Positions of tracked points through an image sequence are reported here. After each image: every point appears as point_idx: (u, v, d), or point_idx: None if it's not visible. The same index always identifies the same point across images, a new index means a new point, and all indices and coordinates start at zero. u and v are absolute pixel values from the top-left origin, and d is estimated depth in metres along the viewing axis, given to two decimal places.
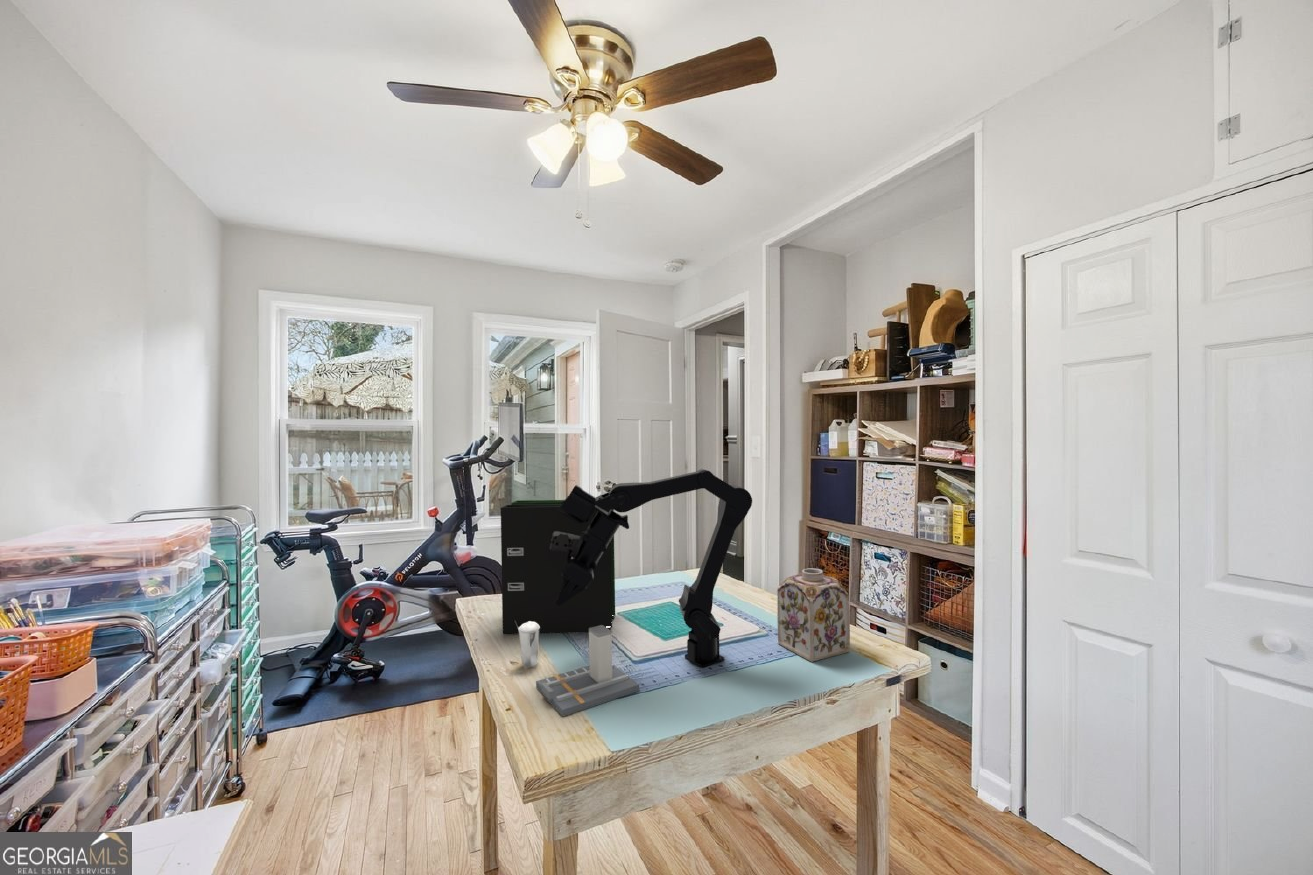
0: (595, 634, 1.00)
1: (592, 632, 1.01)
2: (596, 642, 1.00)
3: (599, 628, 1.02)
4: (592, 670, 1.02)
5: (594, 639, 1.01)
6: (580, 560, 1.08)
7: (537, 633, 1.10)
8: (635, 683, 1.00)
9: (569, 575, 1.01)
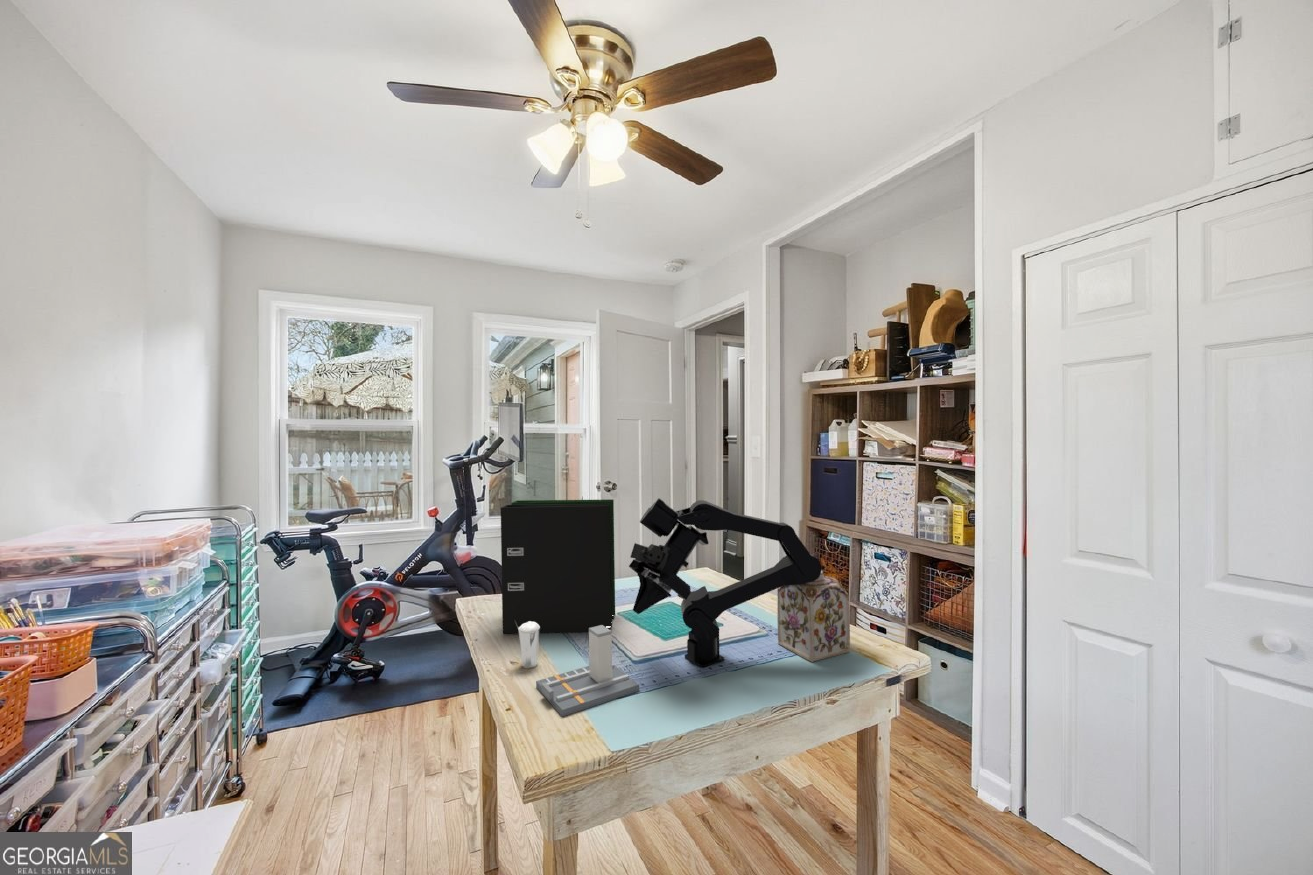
0: (595, 634, 1.00)
1: (592, 632, 1.01)
2: (596, 642, 1.00)
3: (599, 628, 1.02)
4: (592, 670, 1.02)
5: (594, 639, 1.01)
6: None
7: (537, 633, 1.10)
8: (635, 683, 1.00)
9: (672, 587, 1.00)
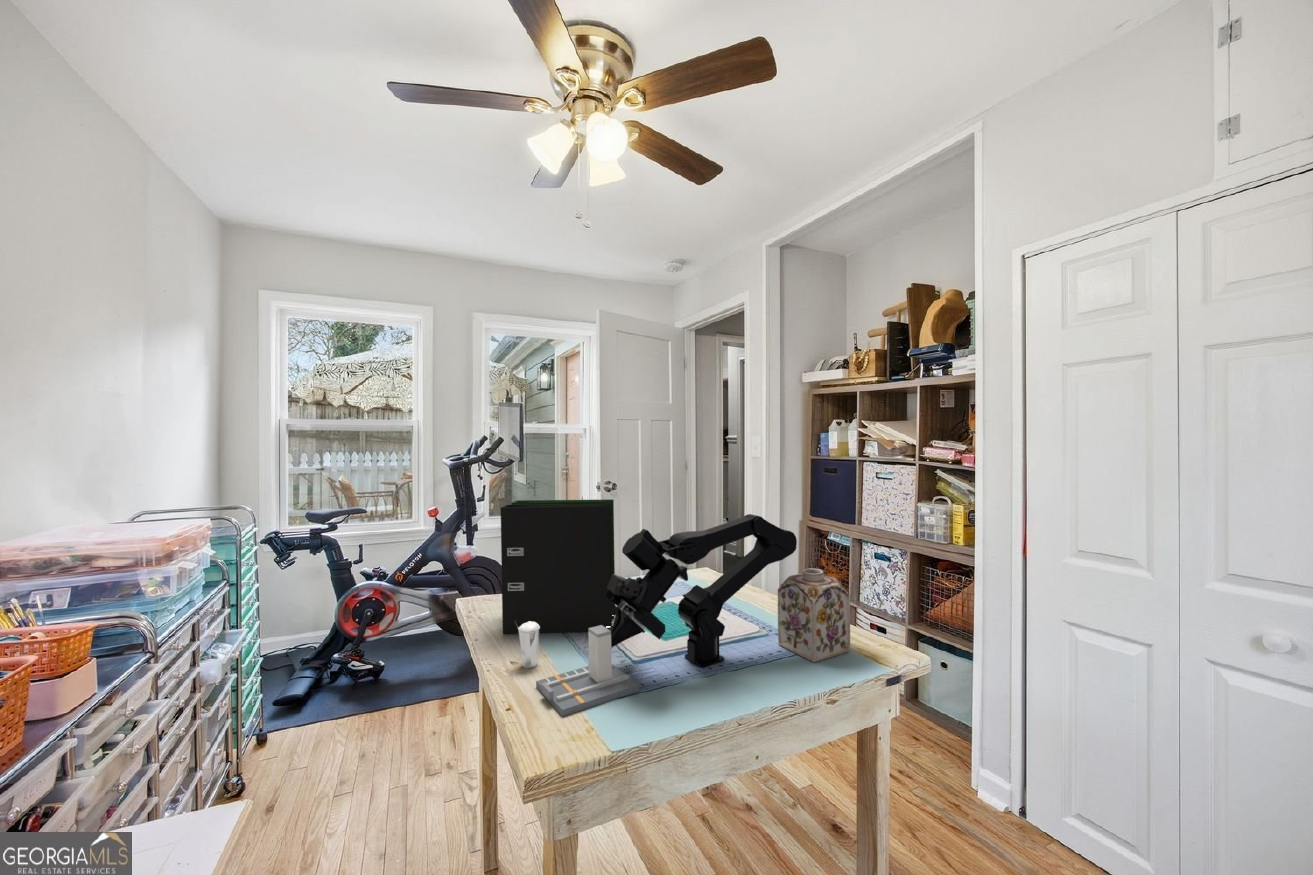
0: (595, 634, 1.00)
1: (592, 632, 1.01)
2: (596, 642, 1.00)
3: (599, 628, 1.02)
4: (591, 670, 1.02)
5: (594, 639, 1.00)
6: None
7: (537, 633, 1.10)
8: (635, 683, 1.00)
9: (646, 625, 0.97)
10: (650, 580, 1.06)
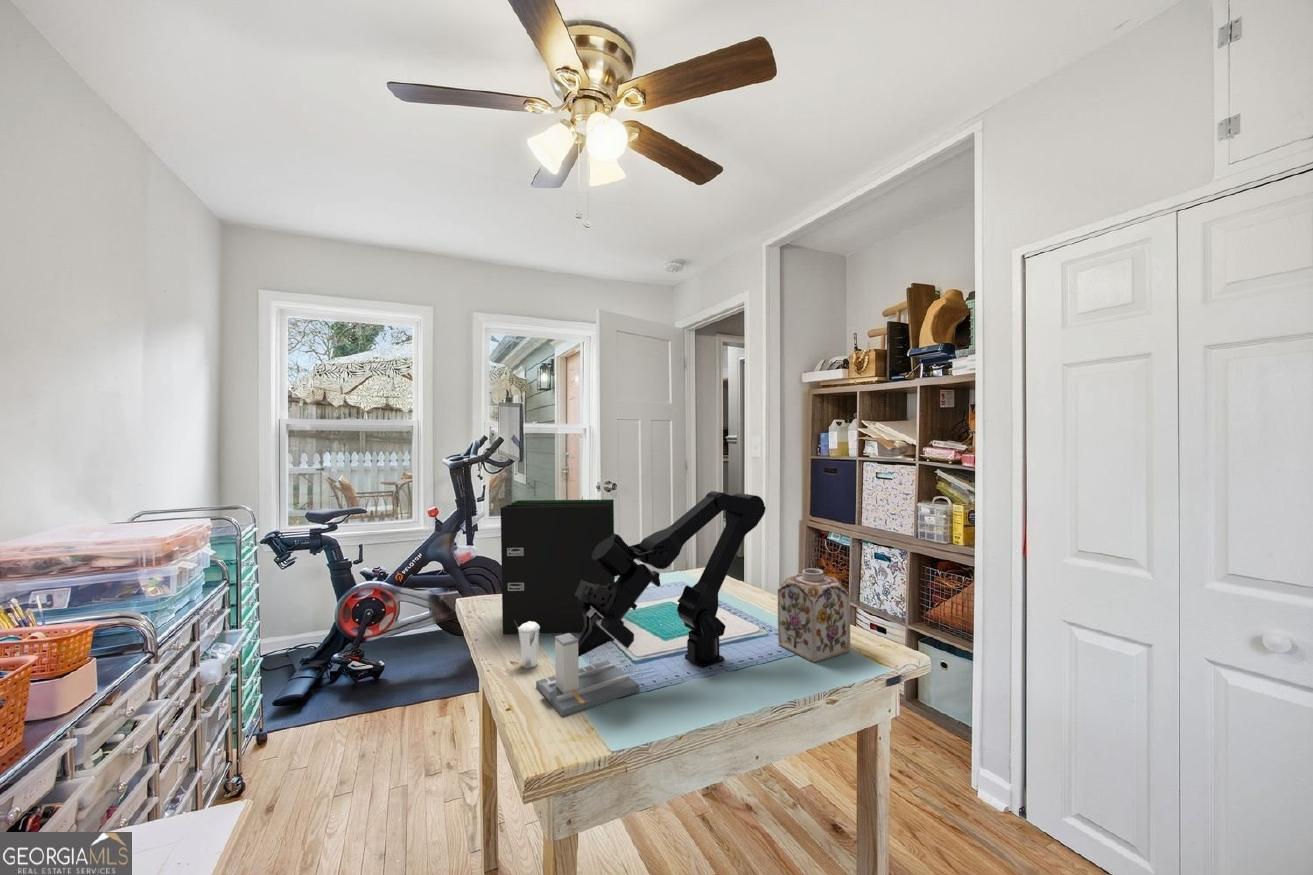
0: (561, 643, 0.96)
1: (558, 641, 0.97)
2: (562, 651, 0.96)
3: (566, 636, 0.98)
4: (558, 680, 0.98)
5: (560, 648, 0.97)
6: None
7: (537, 633, 1.10)
8: (635, 683, 1.00)
9: (613, 634, 0.93)
10: (620, 586, 1.02)
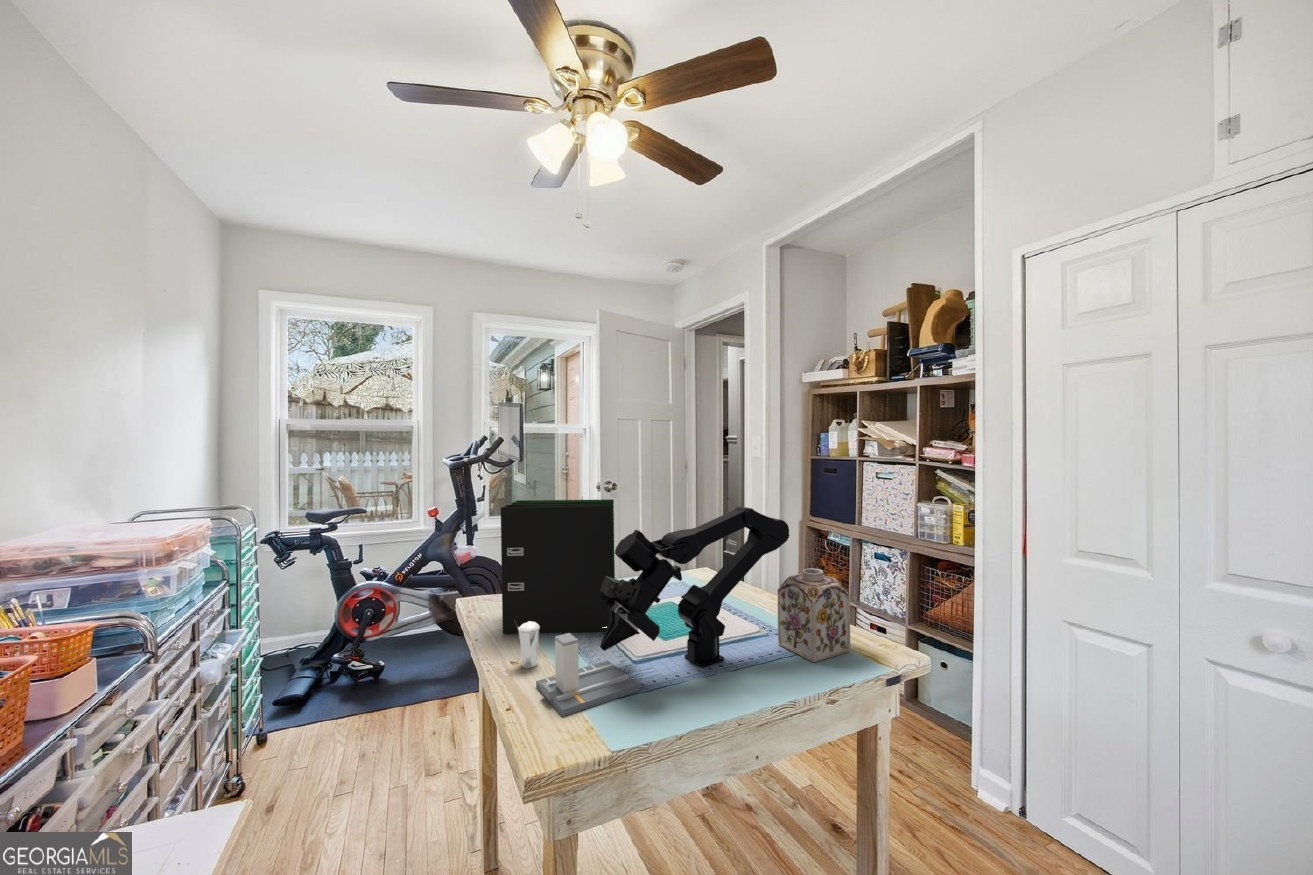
0: (561, 643, 0.96)
1: (558, 641, 0.97)
2: (562, 651, 0.96)
3: (566, 636, 0.98)
4: (558, 680, 0.98)
5: (560, 648, 0.97)
6: None
7: (537, 633, 1.10)
8: (635, 683, 1.00)
9: (640, 627, 0.96)
10: (643, 581, 1.05)
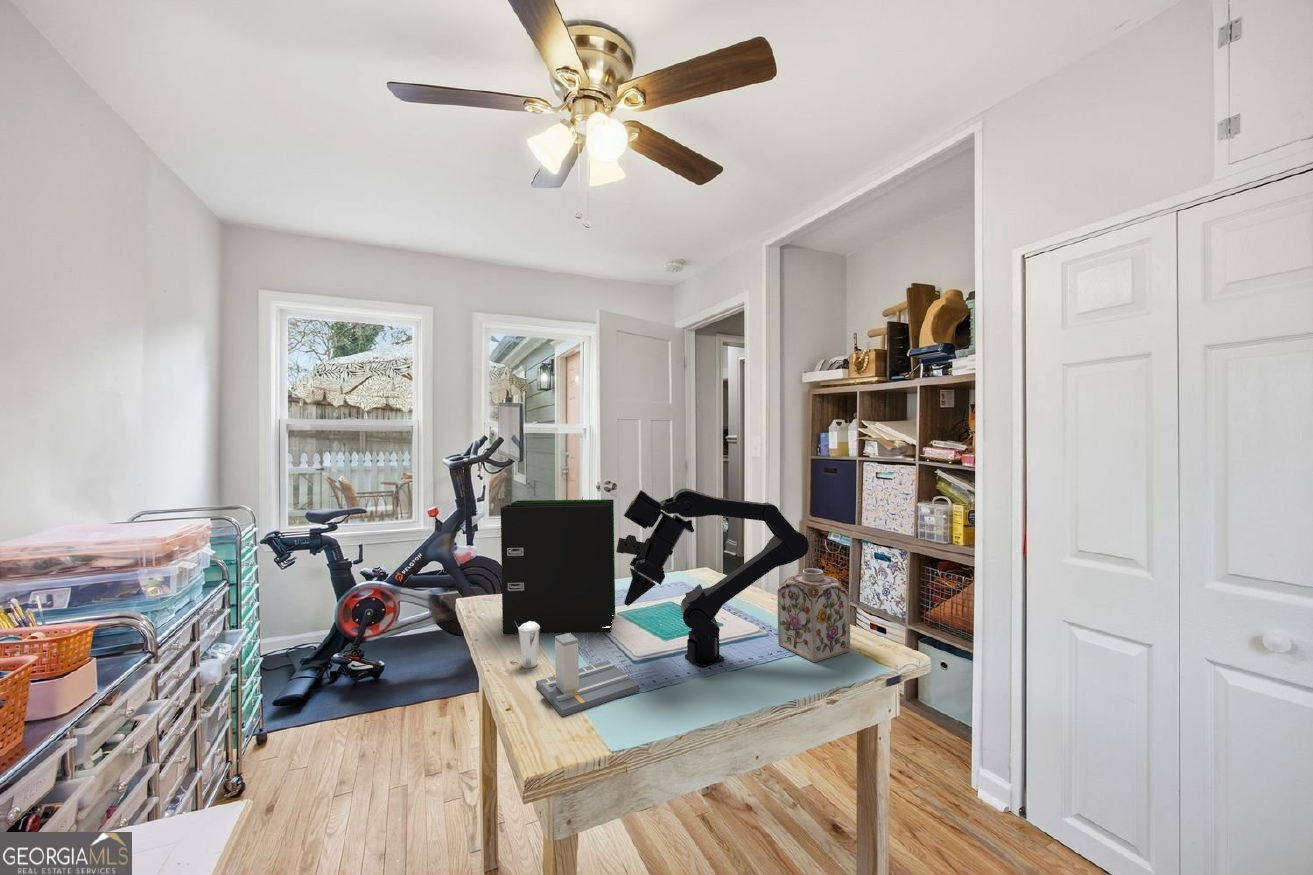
0: (561, 643, 0.96)
1: (558, 641, 0.97)
2: (562, 651, 0.96)
3: (566, 636, 0.98)
4: (558, 680, 0.98)
5: (560, 648, 0.97)
6: None
7: (537, 633, 1.10)
8: (635, 683, 1.00)
9: (642, 571, 1.01)
10: (653, 536, 1.10)
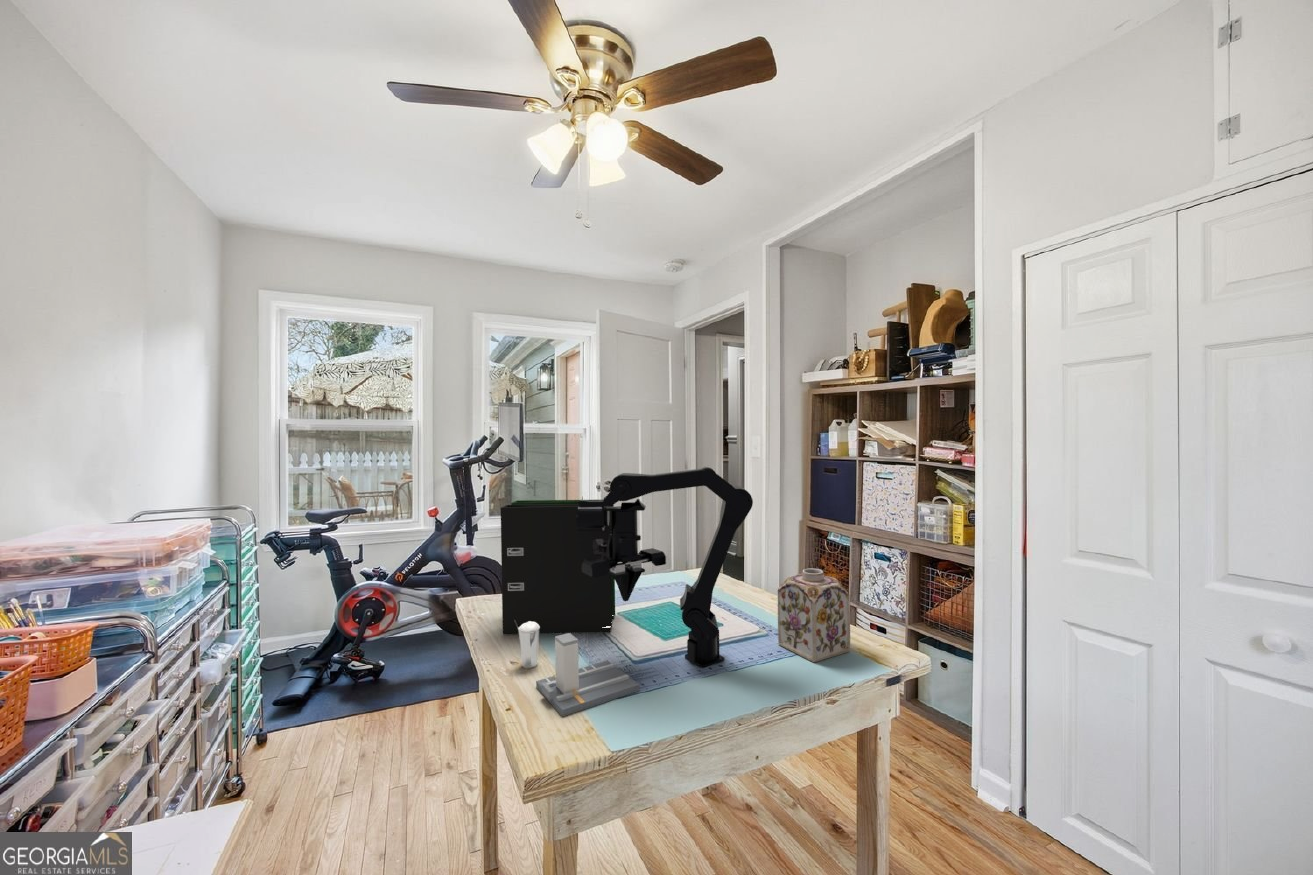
0: (561, 643, 0.96)
1: (558, 641, 0.97)
2: (562, 651, 0.96)
3: (566, 636, 0.98)
4: (558, 680, 0.98)
5: (560, 648, 0.97)
6: (612, 558, 1.12)
7: (537, 633, 1.10)
8: (635, 683, 1.00)
9: (583, 571, 1.09)
10: None
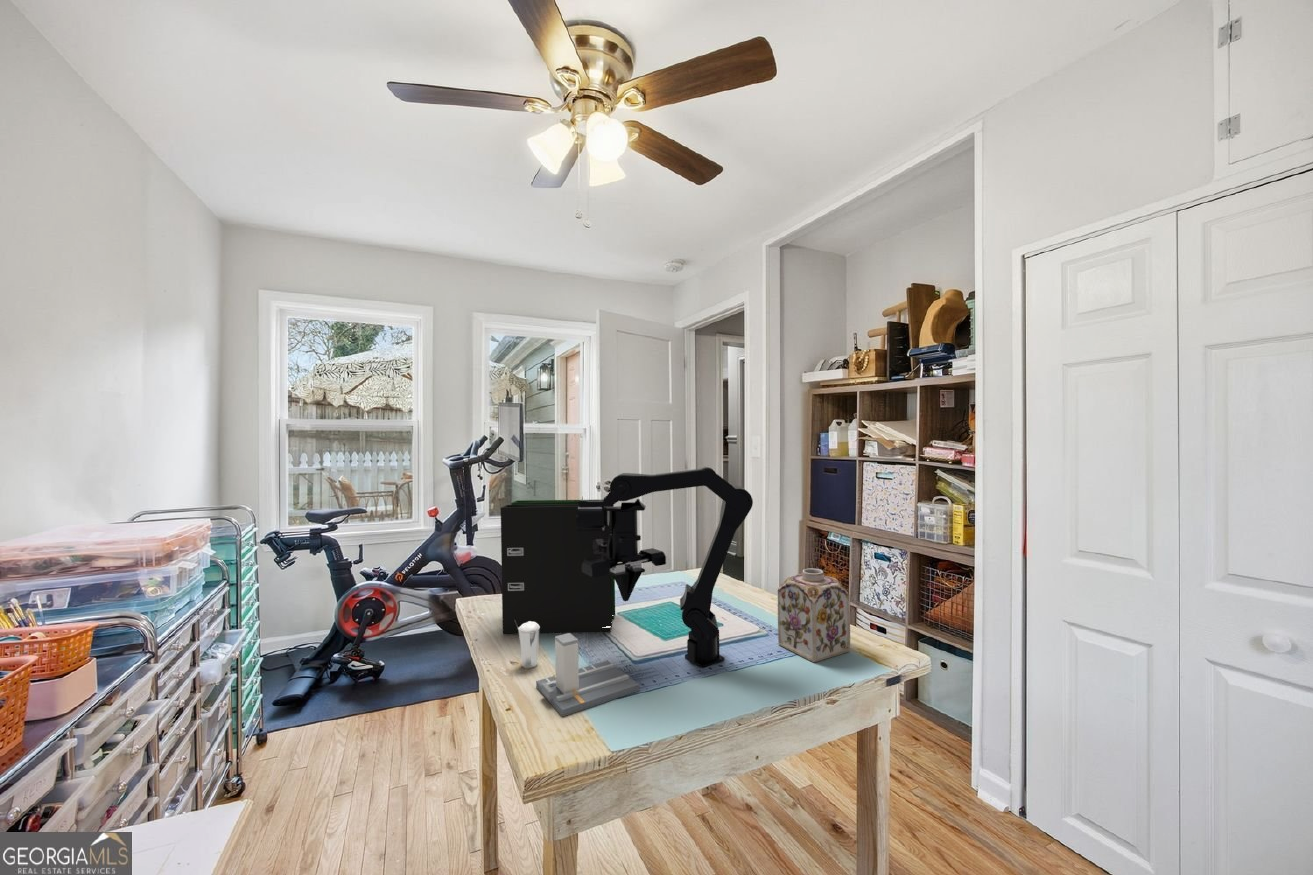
0: (561, 643, 0.96)
1: (558, 641, 0.97)
2: (562, 651, 0.96)
3: (566, 636, 0.98)
4: (558, 680, 0.98)
5: (560, 648, 0.97)
6: (612, 558, 1.12)
7: (537, 633, 1.10)
8: (635, 683, 1.00)
9: (583, 571, 1.09)
10: None
